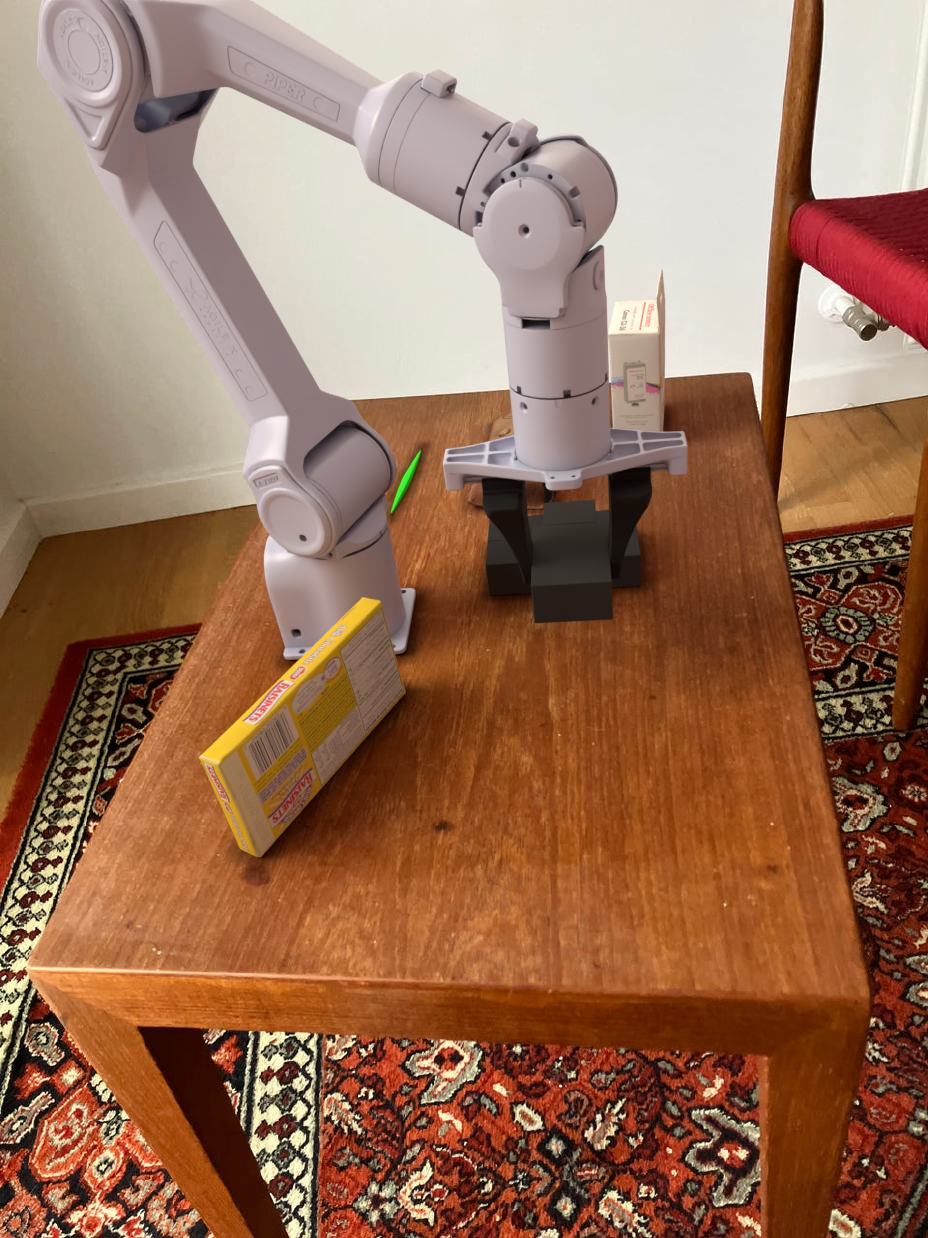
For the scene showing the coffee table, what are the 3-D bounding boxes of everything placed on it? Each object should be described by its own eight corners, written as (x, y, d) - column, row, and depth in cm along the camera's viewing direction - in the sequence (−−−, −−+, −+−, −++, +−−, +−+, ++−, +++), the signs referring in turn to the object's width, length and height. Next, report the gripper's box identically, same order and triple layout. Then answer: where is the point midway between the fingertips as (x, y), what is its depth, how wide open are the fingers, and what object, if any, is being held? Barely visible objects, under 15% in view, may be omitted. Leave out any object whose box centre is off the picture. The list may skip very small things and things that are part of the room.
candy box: (383, 686, 68) (362, 593, 63) (408, 693, 67) (387, 600, 62) (235, 848, 58) (195, 754, 53) (261, 861, 57) (222, 765, 52)
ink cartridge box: (617, 410, 99) (613, 268, 90) (665, 409, 98) (666, 265, 89) (610, 449, 92) (605, 300, 84) (662, 448, 91) (662, 297, 82)
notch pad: (489, 595, 76) (485, 565, 74) (493, 547, 81) (489, 517, 79) (641, 586, 74) (640, 554, 72) (634, 538, 80) (633, 507, 78)
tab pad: (534, 623, 61) (530, 585, 59) (536, 538, 69) (533, 503, 67) (612, 619, 60) (611, 581, 58) (605, 534, 68) (604, 498, 66)
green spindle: (384, 522, 87) (383, 514, 87) (419, 450, 98) (417, 443, 98) (394, 521, 87) (392, 514, 87) (427, 449, 98) (426, 442, 97)
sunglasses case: (489, 417, 100) (516, 364, 96) (548, 446, 101) (578, 394, 97) (464, 506, 86) (495, 449, 82) (533, 538, 87) (566, 482, 83)
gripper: (426, 419, 52) (457, 614, 60) (696, 397, 50) (689, 602, 58) (438, 367, 57) (465, 553, 66) (681, 346, 55) (677, 540, 64)
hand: (570, 572), depth 62 cm, fingers closed on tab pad, 5 cm apart
